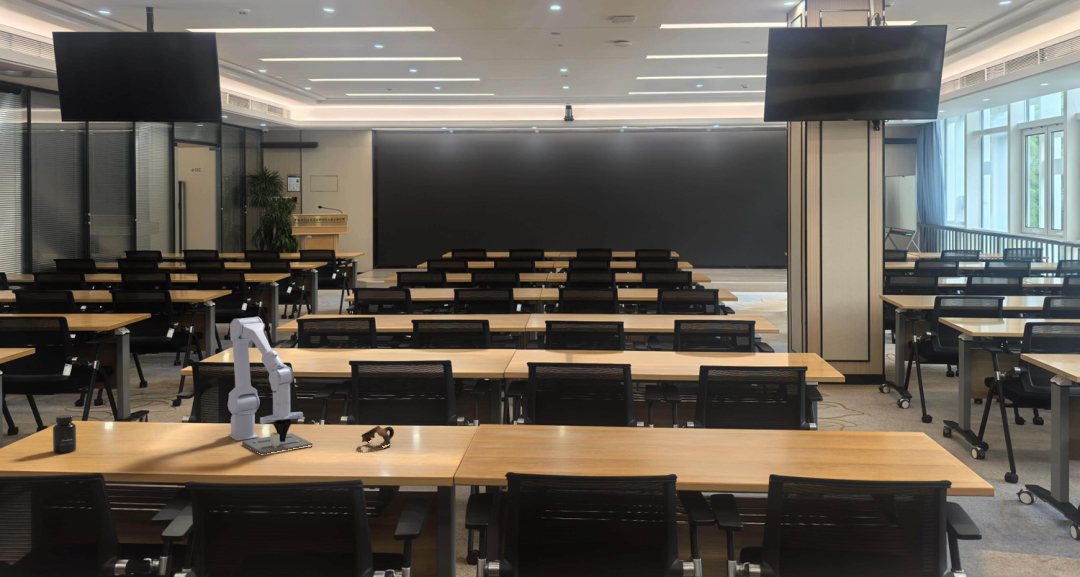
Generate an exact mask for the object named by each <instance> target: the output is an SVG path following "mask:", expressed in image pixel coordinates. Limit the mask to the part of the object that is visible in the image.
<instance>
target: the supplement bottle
mask: <svg viewBox="0 0 1080 577" xmlns="http://www.w3.org/2000/svg"><path fill="white" fill-rule="evenodd" d="M55 423H56V424H54V425H53V427H52V452H53V453H54V454H58V455H60V454H61V455H62V454H69V453H73V452H75V451H76V450H77V426H76V424H75V423H74V422H73V415H72V414H63V415H61V414H60V415H57V416H56V418H55Z"/></svg>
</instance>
